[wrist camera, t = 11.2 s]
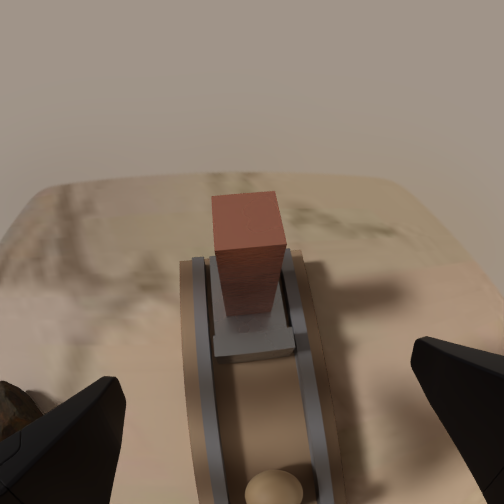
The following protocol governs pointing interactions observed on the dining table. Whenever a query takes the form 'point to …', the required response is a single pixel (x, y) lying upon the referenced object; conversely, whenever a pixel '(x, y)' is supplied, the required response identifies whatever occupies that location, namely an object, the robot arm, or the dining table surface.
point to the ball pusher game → (258, 398)
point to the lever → (248, 279)
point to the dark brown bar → (15, 410)
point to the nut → (274, 488)
